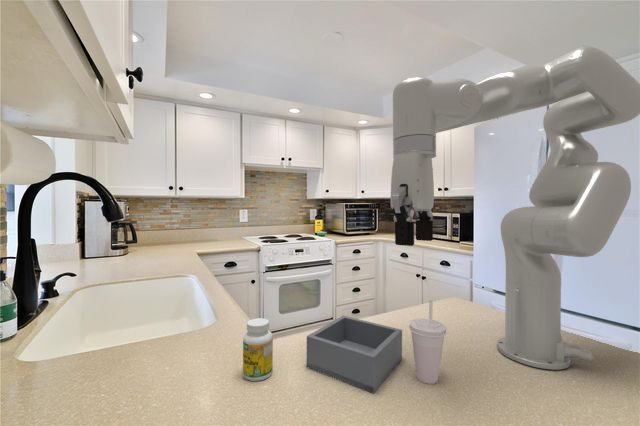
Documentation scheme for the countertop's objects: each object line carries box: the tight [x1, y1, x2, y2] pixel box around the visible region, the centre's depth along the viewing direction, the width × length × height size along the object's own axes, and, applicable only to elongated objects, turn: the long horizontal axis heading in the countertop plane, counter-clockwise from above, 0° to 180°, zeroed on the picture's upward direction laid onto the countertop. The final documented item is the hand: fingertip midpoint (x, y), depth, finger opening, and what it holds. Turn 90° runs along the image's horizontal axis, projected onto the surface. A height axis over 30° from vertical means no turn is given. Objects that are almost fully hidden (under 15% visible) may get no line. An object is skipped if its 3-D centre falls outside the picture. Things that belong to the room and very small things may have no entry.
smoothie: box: [408, 300, 447, 385], centre depth 52 cm, size 6×6×14 cm
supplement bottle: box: [242, 317, 274, 382], centre depth 53 cm, size 5×5×10 cm
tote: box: [305, 315, 403, 394], centre depth 57 cm, size 14×14×6 cm
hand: (415, 242), depth 53 cm, fingers open, 9 cm apart
